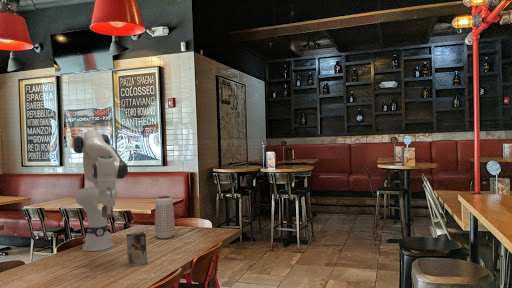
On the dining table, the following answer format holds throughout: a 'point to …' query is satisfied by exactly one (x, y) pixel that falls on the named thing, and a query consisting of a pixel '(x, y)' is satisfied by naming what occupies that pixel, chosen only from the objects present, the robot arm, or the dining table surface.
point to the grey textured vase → (164, 217)
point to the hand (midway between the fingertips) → (107, 213)
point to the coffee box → (136, 249)
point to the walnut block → (104, 212)
